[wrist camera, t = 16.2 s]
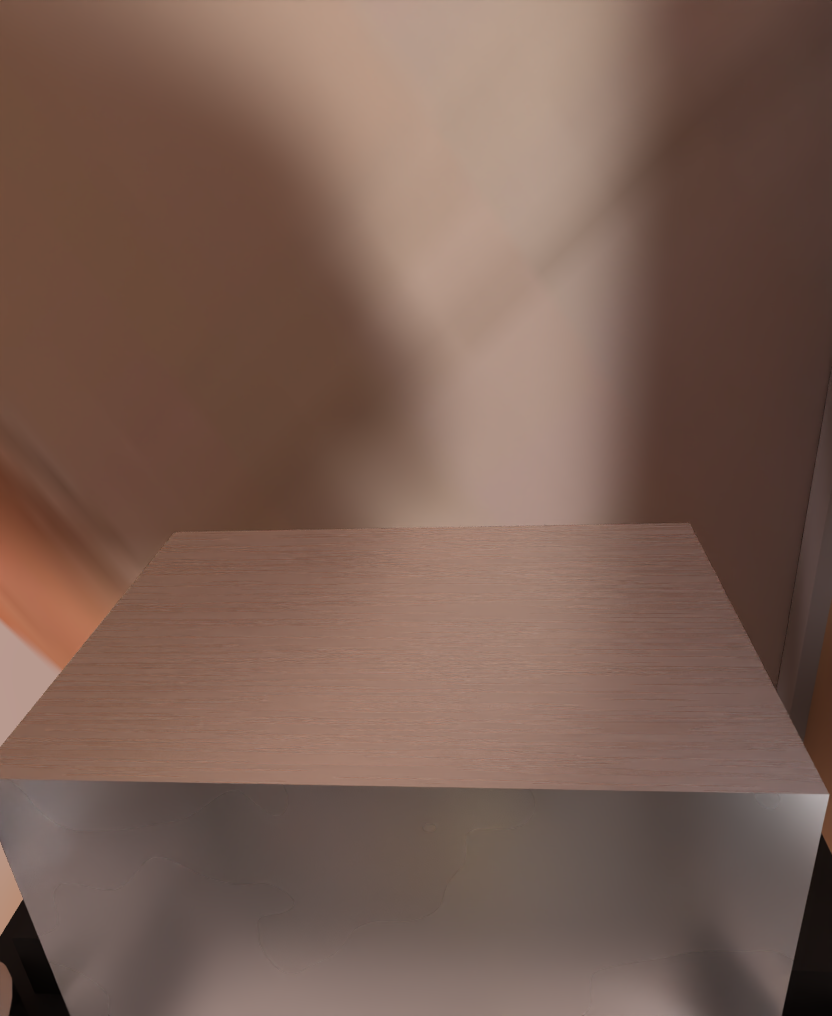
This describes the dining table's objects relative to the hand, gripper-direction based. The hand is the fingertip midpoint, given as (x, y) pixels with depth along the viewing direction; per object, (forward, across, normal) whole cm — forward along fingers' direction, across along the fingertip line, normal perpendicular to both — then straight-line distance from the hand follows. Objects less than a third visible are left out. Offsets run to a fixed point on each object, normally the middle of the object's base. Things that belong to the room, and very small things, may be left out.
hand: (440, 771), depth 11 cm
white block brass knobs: (0, 0, 0) cm, 0 cm away
